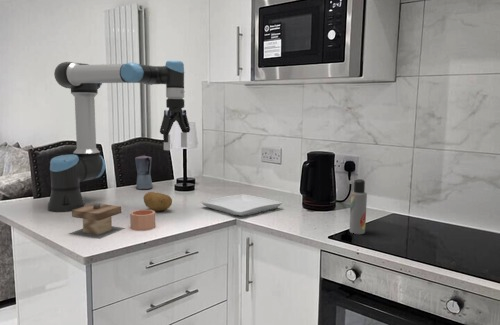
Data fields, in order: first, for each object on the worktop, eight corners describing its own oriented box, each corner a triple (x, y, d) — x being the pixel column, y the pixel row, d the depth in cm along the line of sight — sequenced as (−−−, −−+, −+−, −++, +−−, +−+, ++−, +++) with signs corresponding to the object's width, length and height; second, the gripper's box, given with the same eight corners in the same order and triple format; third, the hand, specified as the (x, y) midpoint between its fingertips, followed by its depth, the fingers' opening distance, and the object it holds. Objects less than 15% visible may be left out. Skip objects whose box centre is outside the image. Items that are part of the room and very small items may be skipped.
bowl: (125, 229, 159) (125, 214, 158) (140, 223, 167) (140, 208, 166) (146, 232, 156) (145, 216, 155) (159, 226, 164) (159, 211, 163)
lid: (72, 216, 151) (71, 206, 151) (95, 209, 162) (95, 199, 162) (98, 220, 147) (98, 209, 146) (121, 212, 158) (121, 202, 158)
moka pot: (146, 185, 246) (146, 151, 243) (159, 189, 234) (158, 153, 231) (131, 187, 240) (130, 152, 237) (143, 191, 228) (142, 154, 225)
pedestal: (83, 232, 154) (82, 216, 153) (96, 227, 160) (96, 211, 159) (98, 234, 151) (98, 218, 150) (111, 229, 157) (111, 213, 157)
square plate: (283, 209, 194) (283, 201, 193) (239, 220, 175) (239, 211, 174) (242, 200, 213) (243, 192, 212) (199, 208, 194) (199, 200, 193)
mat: (68, 234, 152) (68, 233, 152) (96, 224, 165) (96, 223, 165) (99, 239, 147) (99, 238, 147) (125, 229, 159) (125, 228, 159)
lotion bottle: (367, 232, 159) (370, 179, 157) (360, 235, 155) (363, 181, 153) (353, 229, 163) (356, 178, 161) (346, 232, 159) (348, 179, 156)
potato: (163, 215, 180) (163, 196, 179) (138, 210, 187) (138, 193, 186) (177, 210, 189) (177, 192, 188) (153, 206, 196) (153, 189, 195)
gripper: (166, 97, 165) (167, 151, 168) (197, 99, 188) (197, 146, 191) (150, 97, 168) (151, 150, 171) (183, 99, 191) (183, 145, 194)
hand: (175, 148), depth 181 cm, fingers open, 13 cm apart
